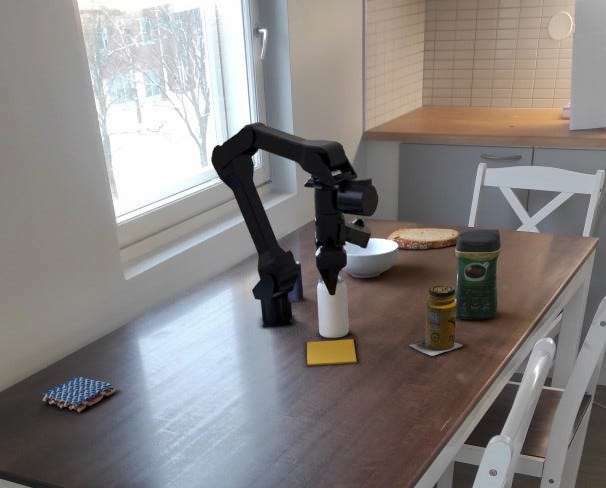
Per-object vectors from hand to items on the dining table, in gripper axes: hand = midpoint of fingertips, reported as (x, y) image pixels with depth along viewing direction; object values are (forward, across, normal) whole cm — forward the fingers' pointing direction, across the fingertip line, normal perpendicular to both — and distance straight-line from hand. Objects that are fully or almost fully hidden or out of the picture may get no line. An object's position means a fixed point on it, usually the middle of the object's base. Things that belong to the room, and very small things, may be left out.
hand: (331, 288), depth 172 cm
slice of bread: (+10, +67, -28) cm, 73 cm away
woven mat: (+10, -26, +51) cm, 58 cm away
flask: (+10, +26, +11) cm, 30 cm away
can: (+10, 0, 0) cm, 10 cm away
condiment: (+10, -11, -21) cm, 26 cm away
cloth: (+10, -11, +1) cm, 15 cm away
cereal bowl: (+10, +42, -10) cm, 44 cm away
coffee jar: (+10, +6, -32) cm, 34 cm away
